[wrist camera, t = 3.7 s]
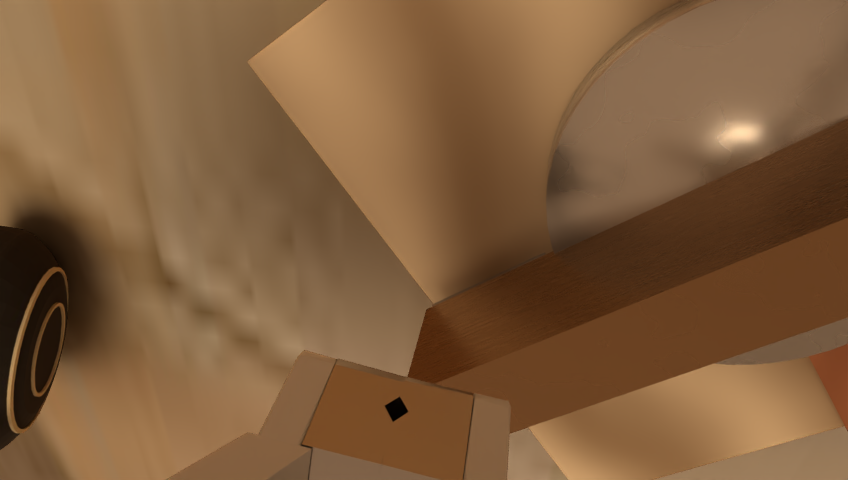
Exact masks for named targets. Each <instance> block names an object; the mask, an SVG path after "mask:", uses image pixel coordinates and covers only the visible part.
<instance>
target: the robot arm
mask: <svg viewBox="0 0 848 480" xmlns="http://www.w3.org/2000/svg"><path fill="white" fill-rule="evenodd" d="M510 415H511V406H510V403H509V401H507V400H502V399H498V398H494V397H489V396H485V395H481V394H477V393H474V394H473V393H471V392H467V391H463V390H458V389H454V388H450V387H446V386H442V385H438V384H433V383H429V382H425V381H421V380H417V379H413V378H409V377H403V376H400V375H396V374H393V373H389V372H385V371H382V370H378V369H374V368H371V367H367V366H363V365H360V364H356V363H353V362H349V361H345V360H342V359H335V358H331V357H328V356H324V355H320V354H317V353H313V352H310V351H306V350H304V351H303V352H302V353H301V354H300V355H299V356H298V357H297V359H296V361H295V363H294V365H293V367H292V369H291V371H290V373H289V375H288V377H287V379H286V381H285V383H284V385H283V387H282V389H281V391H280V393H279V395H278V397H277V399H276V401H275V403H274V404H273V406H272V408H271V410H270V412H269V414H268V416H267V418H266V420H265V422H264V424H263V426H262V428H261V430H260V432H259V434H258V435H257V434H253V433H248V432H247V433H245V434H244V435H242V436H240V437H239V438H237V439H235V440H233V441H232V442H230V443H228V444H226V445H225V446H223V447H221V448H220V449H218V450H216V451H214V452H213V453H211V454H209V455H207V456H206V457H204V458H202V459H201V460H199V461H197V462H195V463H194V464H192V465H190V466H188V467H187V468H185V469H183V470H182V471H180V472H178V473H176V474H175V475H173V476H171V477H170V478H168V479H166V480H507V470H508V452H509V433H510Z"/></svg>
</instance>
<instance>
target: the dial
mask: <svg viewBox="0 0 848 480" xmlns="http://www.w3.org/2000/svg"><path fill="white" fill-rule="evenodd" d="M546 211H547V227H548V231H549V236H550V240H551V245H552V249H553V251H552V252H550V253H548V254H545V255H543V256H541V257H539V258H537V259H535V260H532V261H530V262H528V263H526V264H524V265H522V266H519V267H517V268H515V269H513V270H511V271H509V272H506V273H504V274H502V275H500V276H498V277H496V278H494V279H491V280H489V281H487V282H485V283H483V284H481V285H478V286H476V287H474V288H472V289H470V290H468V291H465V292H463V293H461V294H459V295H457V296H455V297H452V298H450V299H448V300H446V301H444V302H442V303H440V304H437V305H435V306H433V307H431V308H429V309H427V310H426V313H425V317H424V320H423V324H422V327H421V331H420V335H419V338H418V342H417V345H416V349H415V352H414V356H413V360H412V363H411V367H410V370H409V374H408V377H409V378H413V379H417V380H421V381H425V382H429V383H433V384H438V385H442V386H446V387H450V388H454V389H458V390H463V391H467V392H471V393H473V394H474V393H477V394H481V395H485V396H489V397H494V398H498V399H502V400H507V401H509V403H510V406H511V415H510V433H513V432H516V431H519V430H522V429H525V428H528V427H530V426H533V425H536V424H539V423H542V422H545V421H548V420H551V419H554V418H557V417H560V416H563V415H565V414H568V413H571V412H574V411H577V410H580V409H583V408H586V407H589V406H592V405H595V404H597V403H600V402H603V401H606V400H609V399H612V398H615V397H618V396H621V395H624V394H627V393H630V392H632V391H635V390H638V389H641V388H644V387H647V386H650V385H653V384H656V383H659V382H662V381H664V380H667V379H670V378H673V377H676V376H679V375H682V374H685V373H688V372H691V371H694V370H697V369H699V368H702V367H705V366H708V365H711V364H724V365H755V364H766V363H777V362H783V361H788V360H794V359H799V358H804V357H808V356H812V355H815V354H819V353H822V352H826V351H830V350H833V349H835V348H838V347H841V346H843V345H846V344H848V0H681V1H679V2H677V3H675V4H673V5H671V6H669V7H667V8H665V9H663V10H661V11H659V12H658V13H656V14H655V15H653V16H652V17H650V18H649V19H647V20H646V21H644V22H643V23H641V24H640V25H638V26H637V27H635V28H634V29H633V30H631V31H630V32H629V33H628V34H627V35H626V36H624V37H623V38H622V39H621V40H620V41H618V42H617V43H616V44H615V45H614V46H613V47H611V48H610V49H609V50H608V52H607V53H606V54H605V55H604V56H603V57H602V58H601V59H600V60H599V61H598V62H597V63H596V64H595V66H594V67H593V68H592V69H591V70H590V71H589V73H588V74H587V76H586V77H585V78H584V80H583V81H582V82H581V84H580V85H579V87H578V88H577V89H576V91H575V92H574V94H573V96H572V98H571V100H570V102H569V103H568V105H567V107H566V109H565V111H564V113H563V114H562V117H561V120H560V122H559V125H558V127H557V130H556V133H555V135H554V138H553V143H552V147H551V151H550V155H549V160H548V170H547V182H546ZM510 433H509V434H510Z"/></svg>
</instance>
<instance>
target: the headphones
mask: <svg viewBox="0 0 848 480" xmlns="http://www.w3.org/2000/svg"><path fill="white" fill-rule="evenodd" d="M68 299H69V296H68V283H67V277H66V275H65V272H64V271H63V270H62V269H61V268H59V266H58V264H57V262H56V260H55V258H54V257H53V255H52V254H51V252H50V251H49V250H48V248H47V247H46V246H45V245H44V244H43V243H42V242H41V241H40V240H39V239H38V238H37V237H36V236H35V235H34V234H32V233H30V232H27V231H25V230H22V229H17V228H12V227H5V226H0V450H1V449H2V448H4V447H5V446H6V445H8V444H9V443H10V442H11V441H12V440H14V439H15V438H16V437H17V436H18V435H19V434H20V433H24V432H25V431H27V430H28V429H29V428H30V427H31V425H32V424H33V423H34V421H35V420H36V418H37V416H38V415H39V413H40V411H41V409H42V407H43V405H44V403H45V400H46V398H47V396H48V393H49V391H50V388H51V385H52V382H53V380H54V377H55V374H56V371H57V368H58V364H59V361H60V357H61V353H62V349H63V344H64V339H65V332H66V325H67V315H68Z"/></svg>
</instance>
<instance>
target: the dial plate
mask: <svg viewBox="0 0 848 480" xmlns="http://www.w3.org/2000/svg"><path fill="white" fill-rule="evenodd" d="M679 1H681V0H327V1H326V2H324V3H323V4H322V5H320V6H319V7H318V8H316V9H315V10H314V11H313V12H311V13H310V14H309V15H307V16H306V17H305V18H303V19H302V20H301V21H299V22H298V23H297V24H296V25H294V26H293V27H292V28H290V29H289V30H288V31H286V32H285V33H284V34H282V35H281V36H280V37H278V38H277V39H276V40H275V41H273V42H272V43H271V44H269V45H268V46H267V47H265V48H264V49H263V50H261V51H260V52H259V53H258V54H256V55H255V56H254V57H252V58H251V59H250V60H248V61H247V63H248V64H249V65H250V66H251V68H252V69H253V70H254V72H255V73H256V74H257V76H258V77H259V78H260V79H261V81H262V82H263V83H264V85H265V86H266V87H267V89H268V90H269V91H270V92H271V94H272V95H273V96H274V98H275V99H276V100H277V102H278V103H279V104H280V105H281V107H282V108H283V109H284V111H285V112H286V113H287V115H288V116H289V117H290V118H291V120H292V121H293V122H294V124H295V125H296V126H297V128H298V129H299V130H300V131H301V133H302V134H303V135H304V137H305V138H306V139H307V141H308V142H309V143H310V144H311V146H312V147H313V148H314V150H315V151H316V152H317V154H318V155H319V156H320V157H321V159H322V160H323V161H324V163H325V164H326V165H327V167H328V168H329V169H330V170H331V172H332V173H333V174H334V176H335V177H336V178H337V180H338V181H339V182H340V183H341V185H342V186H343V187H344V189H345V190H346V191H347V193H348V194H349V195H350V196H351V198H352V199H353V200H354V202H355V203H356V204H357V206H358V207H359V208H360V209H361V211H362V212H363V213H364V215H365V216H366V217H367V218H368V220H369V221H370V222H371V224H372V225H373V226H374V228H375V229H376V230H377V231H378V233H379V234H380V235H381V237H382V238H383V239H384V241H385V242H386V243H387V244H388V246H389V247H390V248H391V250H392V251H393V252H394V254H395V255H396V256H397V257H398V259H399V260H400V261H401V263H402V264H403V265H404V267H405V268H406V269H407V270H408V272H409V273H410V274H411V276H412V277H413V278H414V280H415V281H416V282H417V283H418V285H419V286H420V287H421V289H422V290H423V291H424V293H425V294H426V295H427V296H428V298H429V299H430V300H431V302H432V303H433V306H435V305H437V304H440V303H442V302H444V301H446V300H448V299H450V298H452V297H455V296H457V295H459V294H461V293H463V292H465V291H468V290H470V289H472V288H474V287H476V286H478V285H481V284H483V283H485V282H487V281H489V280H491V279H494V278H496V277H498V276H500V275H502V274H504V273H506V272H509V271H511V270H513V269H515V268H517V267H519V266H522V265H524V264H526V263H528V262H530V261H532V260H535V259H537V258H539V257H541V256H543V255H545V254H548V253H550V252H552V251H553V249H552V245H551V240H550V236H549V231H548V227H547V211H546V182H547V170H548V160H549V155H550V151H551V147H552V143H553V138H554V135H555V133H556V130H557V127H558V125H559V122H560V120H561V117H562V114H563V113H564V111H565V109H566V107H567V105H568V103H569V102H570V100H571V98H572V96H573V94H574V92H575V91H576V89H577V88H578V87H579V85H580V84H581V82H582V81H583V80H584V78H585V77H586V76H587V74H588V73H589V71H590V70H591V69H592V68H593V67H594V66H595V64H596V63H597V62H598V61H599V60H600V59H601V58H602V57H603V56H604V55H605V54H606V53H607V52H608V50H609V49H610V48H611V47H613V46H614V45H615V44H616V43H617V42H618V41H620V40H621V39H622V38H623V37H624V36H626V35H627V34H628V33H629V32H630V31H631V30H633V29H634V28H635V27H637V26H638V25H640V24H641V23H643V22H644V21H646V20H647V19H649V18H650V17H652V16H653V15H655V14H656V13H658V12H659V11H661V10H663V9H665V8H667V7H669V6H671V5H673V4H675V3H677V2H679ZM842 426H845V427H846V429H847V431H848V344H846V345H843V346H841V347H838V348H835V349H833V350H830V351H826V352H822V353H819V354H815V355H812V356H808V357H804V358H799V359H794V360H788V361H783V362H777V363H766V364H755V365H724V364H711V365H708V366H705V367H702V368H699V369H697V370H694V371H691V372H688V373H685V374H682V375H679V376H676V377H673V378H670V379H667V380H664V381H662V382H659V383H656V384H653V385H650V386H647V387H644V388H641V389H638V390H635V391H632V392H630V393H627V394H624V395H621V396H618V397H615V398H612V399H609V400H606V401H603V402H600V403H597V404H595V405H592V406H589V407H586V408H583V409H580V410H577V411H574V412H571V413H568V414H565V415H563V416H560V417H557V418H554V419H551V420H548V421H545V422H542V423H539V424H536V425H533V426H530V427H528V428H529V429H530V430H531V432H532V433H533V434H534V436H535V437H536V438H537V439H538V441H539V442H540V443H541V445H542V446H543V447H544V449H545V450H546V451H547V452H548V454H549V455H550V456H551V458H552V459H553V460H554V462H555V463H556V464H557V465H558V467H559V468H560V469H561V471H562V472H563V473H564V475H565V476H566V477H567V478H568V480H653V479H657V478H660V477H664V476H667V475H671V474H674V473H678V472H682V471H685V470H689V469H692V468H696V467H699V466H703V465H707V464H710V463H714V462H717V461H721V460H724V459H728V458H732V457H735V456H739V455H742V454H746V453H749V452H753V451H757V450H760V449H764V448H767V447H771V446H774V445H778V444H782V443H785V442H789V441H792V440H796V439H799V438H803V437H807V436H810V435H814V434H817V433H821V432H824V431H828V430H832V429H835V428H839V427H842Z"/></svg>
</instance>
